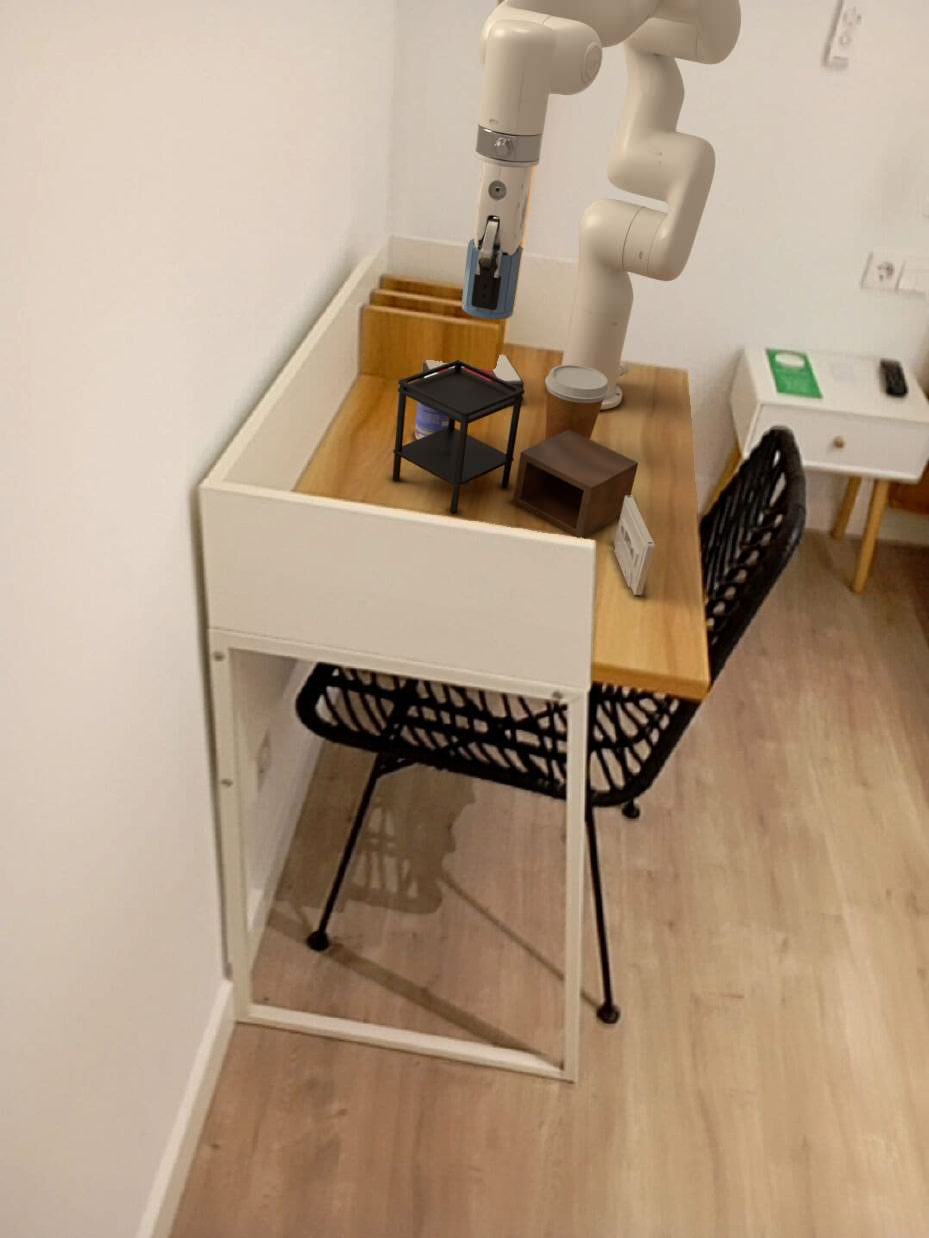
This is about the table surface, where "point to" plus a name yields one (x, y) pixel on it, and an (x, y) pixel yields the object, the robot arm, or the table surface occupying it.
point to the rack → (450, 447)
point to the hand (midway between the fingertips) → (489, 296)
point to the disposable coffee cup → (574, 399)
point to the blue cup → (507, 286)
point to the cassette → (633, 546)
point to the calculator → (488, 371)
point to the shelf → (574, 482)
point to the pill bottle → (429, 420)
